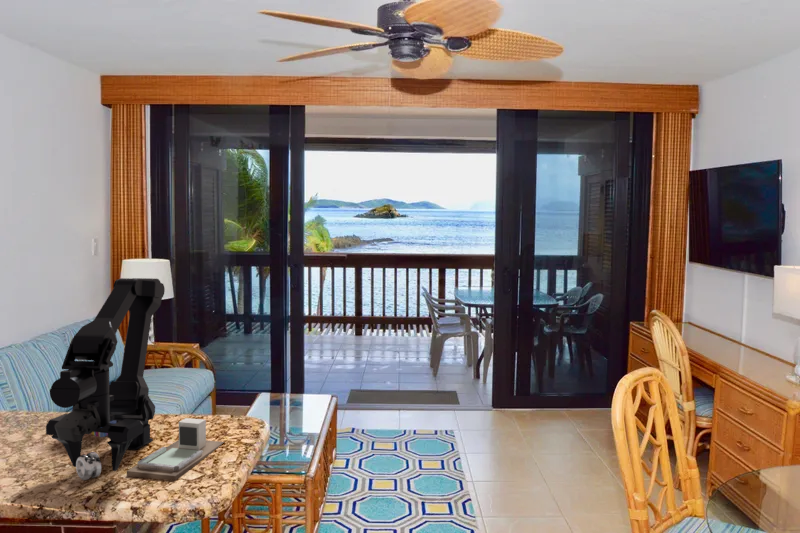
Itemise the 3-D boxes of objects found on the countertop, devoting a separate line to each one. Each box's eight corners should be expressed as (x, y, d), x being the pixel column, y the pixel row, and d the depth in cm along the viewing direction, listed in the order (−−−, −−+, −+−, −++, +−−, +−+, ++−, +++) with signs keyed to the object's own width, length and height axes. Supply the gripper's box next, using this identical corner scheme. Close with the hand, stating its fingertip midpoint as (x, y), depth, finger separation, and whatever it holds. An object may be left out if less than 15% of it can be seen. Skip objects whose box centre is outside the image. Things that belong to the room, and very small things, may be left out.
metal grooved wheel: (101, 479, 121) (101, 454, 121) (86, 483, 119) (86, 459, 119) (89, 472, 125) (89, 449, 124) (75, 477, 122) (74, 453, 122)
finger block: (177, 448, 135) (177, 422, 135) (186, 443, 139) (185, 418, 138) (198, 450, 134) (197, 424, 134) (205, 445, 137) (205, 419, 137)
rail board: (126, 476, 123) (126, 470, 123) (181, 443, 142) (181, 437, 142) (175, 481, 120) (175, 475, 120) (224, 447, 140) (224, 441, 140)
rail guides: (135, 467, 124) (135, 463, 124) (163, 451, 134) (163, 446, 134) (177, 472, 122) (177, 467, 122) (202, 454, 132) (202, 450, 132)
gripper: (22, 401, 116) (24, 479, 117) (107, 408, 112) (108, 489, 113) (65, 386, 127) (67, 458, 128) (144, 392, 123) (145, 466, 124)
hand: (95, 468), depth 123 cm, fingers open, 9 cm apart
